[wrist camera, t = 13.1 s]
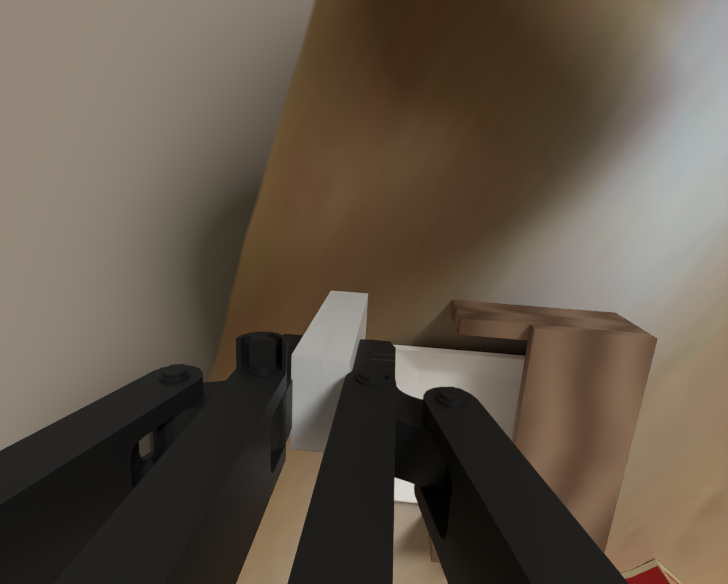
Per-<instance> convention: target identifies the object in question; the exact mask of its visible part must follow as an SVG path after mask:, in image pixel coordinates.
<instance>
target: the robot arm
mask: <svg viewBox="0 0 728 584" xmlns="http://www.w3.org/2000/svg"><path fill="white" fill-rule="evenodd" d="M367 306H368V293H356V292H343V291H330V293H329V295H328V296H327V298H326V299H325V301H324V303H323V304H322V306H321V308H320V309H319V311H318V313H317V314H316V316H315V317H314V319H313V321H312V322H311V324H310V326H309V327H308V329H307V331H306V332H305V334H304V335H292V334H284V335H281V334H278V333H273V332H253V333H247V334H244V335H241V336H239V337H238V338H236V358H237V368H236V369H235V371H234V372H233V373H232V374H231V375H230V376H229V378H228V379H227V380H226V381H219V382H205V383H203V373H202V371H201V370H200V369H199V368H196V367H194V366H188V365H184V364H179V365H177V364H176V365H170V366H168V367H163V368H160V369H158V370H155V371H153V372H151V373H149V374H147V375H145V376H143V377H141V378H139V379H137V380H135V381H133V382H132V383H130V384H128V385H126V386H124V387H122V388H120V389H118V390H116V391H114V392H112V393H110V394H109V395H107V396H105V397H103V398H101V399H99V400H97V401H95V402H93V403H92V404H89V405H87V406H86V407H84V408H82V409H80V410H78V411H76V412H74V413H72V414H70V415H68V416H66V417H64V418H62V419H61V420H59V421H57V422H55V423H53V424H51V425H49V426H47V427H45V428H43V429H41V430H39V431H37V432H36V433H34V434H32V435H30V436H28V437H26V438H24V439H22V440H20V441H18V442H16V443H15V444H13V445H11V446H9V447H7V448H5V449H3V450H1V451H0V584H236V582H237V580H238V577H239V575H240V572H241V570H242V567H243V565H244V562H245V560H246V557H247V555H248V552H249V550H250V547H251V545H252V542H253V540H254V537H255V535H256V532H257V530H258V527H259V525H260V522H261V520H262V517H263V515H264V512H265V510H266V507H267V505H268V502H269V500H270V497H271V495H272V492H273V490H274V487H275V485H276V482H277V480H278V477H279V475H280V472H281V470H282V467H283V465H284V462H285V457H286V441H287V439H288V436H289V434H290V449H294V450H304V451H314V452H324V455H323V458H322V462H321V466H320V469H319V473H318V476H317V480H316V484H315V487H314V491H313V494H312V498H311V502H310V505H309V509H308V512H307V516H306V519H305V523H304V527H303V530H302V534H301V537H300V541H299V545H298V548H297V552H296V555H295V559H294V563H293V566H292V570H291V573H290V577H289V581H288V584H393V531H394V479H395V478H398V479H401V480H404V481H407V482H410V483H412V484H414V494H415V497H416V500H417V503H418V505H419V508H420V511H421V513H422V516H423V518H424V521H425V524H426V526H427V529H428V532H429V534H430V537H431V540H432V542H433V545H434V547H435V550H436V553H437V555H438V558H439V561H440V563H441V566H442V568H443V571H444V574H445V576H446V579H447V582H448V584H629V583H628V582H627V581H626V580H625V578H624V577H623V576H622V575H621V574H620V572H619V571H618V570H617V569H616V567H615V566H614V565H613V564H612V563H611V561H610V560H609V559H608V558H607V556H606V555H605V554H604V553H603V552H602V550H601V549H600V548H599V547H598V545H597V544H596V543H595V542H594V541H593V539H592V538H591V537H590V536H589V535H588V533H587V532H586V531H585V530H584V528H583V527H582V526H581V525H580V524H579V522H578V521H577V520H576V519H575V517H574V516H573V515H572V514H571V513H570V511H569V510H568V509H567V508H566V506H565V505H564V504H563V503H562V502H561V500H560V499H559V498H558V497H557V495H556V494H555V493H554V492H553V491H552V489H551V488H550V487H549V486H548V484H547V483H546V482H545V481H544V480H543V478H542V477H541V476H540V475H539V473H538V472H537V471H536V470H535V469H534V467H533V466H532V465H531V464H530V463H529V461H528V460H527V459H526V458H525V456H524V455H523V454H522V453H521V452H520V450H519V449H518V448H517V447H516V445H515V444H514V443H513V442H512V441H511V439H510V438H509V437H508V436H507V434H506V433H505V432H504V431H503V430H502V428H501V427H500V426H499V425H498V423H497V422H496V421H495V420H494V419H493V417H492V416H491V415H490V414H489V412H488V411H487V410H486V409H485V408H484V406H483V405H482V404H481V403H480V401H479V400H478V399H477V398H476V397H474V396H473V395H472V394H470V393H468V392H466V391H464V390H462V389H460V388H455V387H451V386H449V387H435V388H432V389H429V390H427V391H426V392H425V394H424V395H423V399H419V398H416V397H413V396H410V395H408V394H406V393H404V392H402V391H401V390H399V389H398V387H397V386H396V380H395V360H396V348H395V347H394V346H393V344H392V343H391V342H390V341H378V340H366V339H365V337H366V322H367ZM147 434H149V440H150V452H149V453H148V454H147V455H145V456H144V457H140V454H139V443H138V442H139V441H140V440H141V439H142V438H143V437H144V436H146V435H147Z"/></svg>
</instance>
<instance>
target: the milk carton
mask: <svg viewBox="0 0 728 584" xmlns="http://www.w3.org/2000/svg"><path fill="white" fill-rule="evenodd" d="M620 574H621V575H622V576H623V577H624V578H625V580H626V581H627V582H628V583H629V584H681V583H680V581H679V580H678V579H677V578H676V577H675V576H674V575H673V574H672V573H671V572H669V571H668V570H667V569H666V568H665V567H664V566H663V565H662V564H661V563H659V562H658V561H657V560H656V559H655V560H652V561H650V562H648V563H646V564H644V565H641V566H639V567H637V568H635V569H633V570H630V571H626V572H622V573H620Z"/></svg>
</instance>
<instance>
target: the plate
mask: <svg viewBox="0 0 728 584" xmlns="http://www.w3.org/2000/svg"><path fill="white" fill-rule="evenodd" d="M393 346H394V347H395V348H396V360H395V380H396V386H397V387H398V389H399V390H401V391H402V392H404V393H406V394H408V395H410V396H413V397H416V398H419V399H423V395H424V394H425V392H426V391H427V390H429V389H432V388H435V387H449V386H451V387H455V388H460V389H462V390H464V391H466V392H468V393H470V394H472V395H473V396H474V397H476V398H477V399H478V400H479V401H480V403H481V404H482V405H483V406H484V408H485V409H486V410H487V411H488V412H489V414H490V415H491V416H492V417H493V419H494V420H495V421H496V422H497V423H498V425H499V426H500V427H501V428H502V430H503V431H504V432H505V433H506V434H507V436H508V437H509V438H510V439H511V438H512V432H513V426H514V420H515V414H516V408H517V402H518V396H519V390H520V384H521V378H522V372H523V366H524V360H525V356H523V355H511V354H499V353H487V352H475V351H463V350H451V349H439V348H427V347H415V346H403V345H393ZM394 501H398V502H407V503H417V500H416V497H415V494H414V484H412V483H410V482H407V481H404V480H401V479H398V478H395V479H394ZM417 504H418V503H417Z"/></svg>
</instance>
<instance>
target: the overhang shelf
mask: <svg viewBox="0 0 728 584" xmlns="http://www.w3.org/2000/svg"><path fill="white" fill-rule="evenodd" d="M451 315H452V318H453V320H454V323H455V326H456V328H457V331H458V333H459V335H469V336H481V337H494V338H506V339H518V340H528V342H527V348H526V354H525V360H524V366H523V372H522V378H521V384H520V390H519V396H518V402H517V408H516V414H515V420H514V426H513V432H512V438H511V441H512V442H513V443H514V444H515V445H516V447H517V448H518V449H519V450H520V452H521V453H522V454H523V455H524V456H525V458H526V459H527V460H528V461H529V463H530V464H531V465H532V466H533V467H534V469H535V470H536V471H537V472H538V473H539V475H540V476H541V477H542V478H543V480H544V481H545V482H546V483H547V484H548V486H549V487H550V488H551V489H552V491H553V492H554V493H555V494H556V495H557V497H558V498H559V499H560V500H561V502H562V503H563V504H564V505H565V506H566V508H567V509H568V510H569V511H570V513H571V514H572V515H573V516H574V517H575V519H576V520H577V521H578V522H579V524H580V525H581V526H582V527H583V528H584V530H585V531H586V532H587V533H588V535H589V536H590V537H591V538H592V539H593V541H594V542H595V543H596V544H597V545H598V547H599V548H600V549H601V550H602V552H603V553H604V552H605V548H606V544H607V540H608V536H609V532H610V528H611V524H612V520H613V516H614V512H615V508H616V504H617V500H618V496H619V491H620V487H621V483H622V479H623V475H624V471H625V467H626V463H627V459H628V455H629V451H630V447H631V443H632V439H633V435H634V431H635V427H636V423H637V419H638V415H639V411H640V407H641V403H642V399H643V395H644V391H645V387H646V383H647V379H648V374H649V370H650V366H651V362H652V358H653V354H654V350H655V346H656V342H657V338H656V337H654V336H652V335H651V334H649V333H647V332H646V331H644V330H643V329H641V328H639V327H638V326H636V325H634V324H633V323H631V322H630V321H628V320H626V319H625V318H623V317H621V316H620V315H618V314H617V313H611V312H598V311H585V310H572V309H559V308H546V307H533V306H520V305H508V304H495V303H482V302H469V301H456V300H453V302H452V311H451ZM429 541H430V553H431V562H440V561H439V558H438V555H437V553H436V550H435V547H434V545H433V542H432V540H431V537H430V534H429Z"/></svg>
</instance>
